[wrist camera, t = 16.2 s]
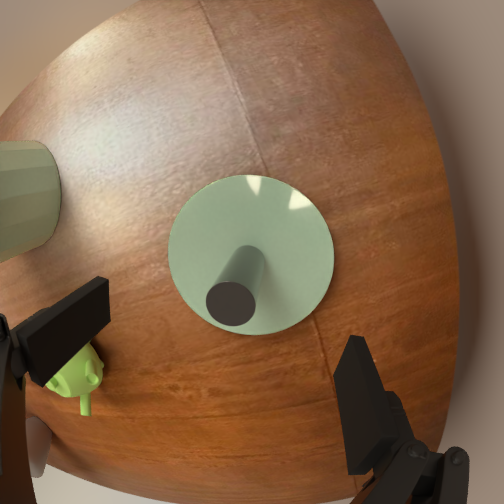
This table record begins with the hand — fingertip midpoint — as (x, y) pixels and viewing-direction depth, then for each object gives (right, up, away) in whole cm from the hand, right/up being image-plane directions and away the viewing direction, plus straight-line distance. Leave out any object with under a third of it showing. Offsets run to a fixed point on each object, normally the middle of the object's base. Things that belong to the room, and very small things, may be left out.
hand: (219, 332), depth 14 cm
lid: (+1, +3, +11) cm, 11 cm away
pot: (-26, +11, +12) cm, 31 cm away
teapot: (-21, -10, +18) cm, 30 cm away
